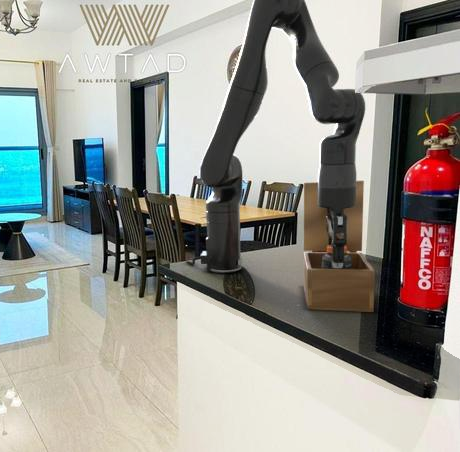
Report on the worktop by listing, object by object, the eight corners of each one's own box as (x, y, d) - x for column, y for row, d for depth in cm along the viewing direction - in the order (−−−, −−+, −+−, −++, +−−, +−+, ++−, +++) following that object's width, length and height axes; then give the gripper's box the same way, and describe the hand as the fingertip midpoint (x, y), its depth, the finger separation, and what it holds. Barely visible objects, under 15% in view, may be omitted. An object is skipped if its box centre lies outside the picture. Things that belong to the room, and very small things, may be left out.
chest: (373, 312, 94) (374, 270, 92) (307, 309, 98) (307, 269, 96) (360, 288, 108) (361, 252, 107) (303, 287, 112) (303, 252, 111)
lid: (363, 180, 103) (359, 178, 109) (304, 183, 107) (302, 180, 113) (361, 251, 107) (357, 245, 112) (303, 250, 111) (302, 244, 116)
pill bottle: (347, 300, 99) (348, 249, 97) (318, 296, 103) (318, 247, 101) (353, 293, 104) (354, 244, 102) (325, 289, 107) (325, 242, 105)
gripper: (361, 187, 91) (359, 266, 94) (351, 181, 104) (349, 250, 107) (320, 188, 93) (320, 265, 96) (315, 182, 107) (315, 250, 109)
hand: (335, 257), depth 102 cm, fingers open, 8 cm apart
